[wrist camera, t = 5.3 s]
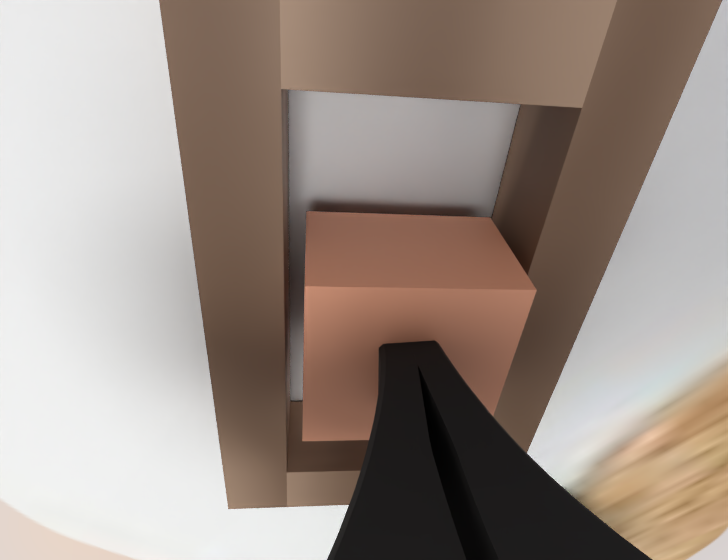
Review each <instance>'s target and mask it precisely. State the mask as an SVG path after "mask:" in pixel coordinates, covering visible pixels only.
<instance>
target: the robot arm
mask: <svg viewBox="0 0 728 560" xmlns="http://www.w3.org/2000/svg"><path fill="white" fill-rule="evenodd" d="M327 560H652V559H651V558H649V557H648V556H647V555H645V554H644V553H643V552H641V551H640V550H639V549H637V548H636V547H635V546H633V545H632V544H631V543H629V542H628V541H627V540H625V539H624V538H623V537H621V536H620V535H619V534H618V533H616V532H615V531H614V530H613V529H611V528H610V527H609V526H608V525H607V524H605V523H604V522H603V521H602V520H600V519H599V518H598V517H597V516H596V515H594V514H593V513H592V512H591V511H589V510H588V509H587V508H586V507H585V506H583V505H582V504H581V503H580V502H578V501H577V500H576V499H575V498H574V497H573V496H571V495H570V494H569V493H568V492H567V491H566V490H565V489H564V488H563V487H562V486H560V485H559V484H558V483H557V482H556V481H555V480H554V479H553V478H552V477H550V476H549V475H548V474H547V473H546V472H545V471H544V470H543V469H542V468H541V467H540V466H539V465H538V464H537V463H536V462H535V461H534V460H533V459H532V458H531V457H530V456H529V455H528V454H527V453H526V452H525V451H524V450H523V449H522V448H521V447H520V446H519V445H518V444H517V443H516V442H515V440H514V439H513V438H512V437H511V436H510V435H509V434H508V433H507V432H506V431H505V429H504V428H503V427H502V426H501V425H500V424H499V423H498V422H497V420H496V419H495V418H494V417H493V416H492V415H491V413H490V412H489V411H488V410H487V408H486V407H485V406H484V405H483V404H482V402H481V401H480V400H479V399H478V397H477V396H476V395H475V394H474V392H473V391H472V390H471V389H470V387H469V386H468V385H467V383H466V382H465V381H464V379H463V378H462V377H461V375H460V374H459V372H458V371H457V370H456V368H455V367H454V365H453V364H452V363H451V361H450V360H449V358H448V357H447V355H446V354H445V352H444V351H443V349H442V348H441V346H440V344H439V343H438V342H436V341H435V340H433V341H418V342H403V343H387V344H383V345H381V346H380V347H379V366H378V398H377V405H376V411H375V416H374V421H373V425H372V430H371V434H370V438H369V442H368V446H367V450H366V454H365V457H364V461H363V464H362V468H361V471H360V474H359V477H358V480H357V484H356V487H355V490H354V493H353V495H352V498H351V501H350V504H349V506H348V509H347V512H346V515H345V518H344V520H343V523H342V525H341V528H340V531H339V533H338V536H337V538H336V540H335V543H334V545H333V547H332V550H331V552H330V554H329V557H328V559H327Z"/></svg>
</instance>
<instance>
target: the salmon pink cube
mask: <svg viewBox="0 0 728 560" xmlns="http://www.w3.org/2000/svg"><path fill="white" fill-rule="evenodd" d="M536 291H537V290H536V288H535V286H534V285H533V283H532V282H531V280H530V279H529V277H528V276H527V274H526V272H525V271H524V269H523V268H522V266H521V265H520V263H519V262H518V260H517V258H516V257H515V255H514V254H513V252H512V251H511V249H510V247H509V246H508V244H507V243H506V241H505V240H504V238H503V237H502V235H501V233H500V232H499V230H498V229H497V227H496V226H495V224H494V222H493V221H492V219H491V218H490V217H464V216H434V215H405V214H376V213H347V212H318V211H306V250H305V290H304V359H303V427H302V441H344V440H369V438H370V434H371V430H372V425H373V421H374V416H375V411H376V405H377V398H378V366H379V347H380V346H381V345H383V344H387V343H403V342H418V341H433V340H435V341H436V342H438V343H439V344H440V346H441V348H442V349H443V351H444V352H445V354H446V355H447V357H448V358H449V360H450V361H451V363H452V364H453V365H454V367H455V368H456V370H457V371H458V372H459V374H460V375H461V377H462V378H463V379H464V381H465V382H466V383H467V385H468V386H469V387H470V389H471V390H472V391H473V392H474V394H475V395H476V396H477V397H478V399H479V400H480V401H481V402H482V404H483V405H484V406H485V407H486V408H487V410H488V411H489V412H490V413H491V415H492V416H493V415H494V412H495V409H496V407H497V404H498V401H499V398H500V395H501V392H502V389H503V386H504V383H505V381H506V378H507V375H508V372H509V369H510V366H511V363H512V360H513V357H514V355H515V352H516V349H517V346H518V343H519V340H520V337H521V334H522V331H523V329H524V326H525V323H526V320H527V317H528V314H529V311H530V308H531V305H532V303H533V300H534V297H535V294H536Z"/></svg>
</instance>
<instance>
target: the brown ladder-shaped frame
mask: <svg viewBox="0 0 728 560" xmlns="http://www.w3.org/2000/svg"><path fill="white" fill-rule="evenodd" d="M721 2H722V0H159V3H160V10H161V17H162V25H163V32H164V39H165V47H166V54H167V61H168V69H169V76H170V83H171V91H172V98H173V105H174V113H175V120H176V127H177V135H178V142H179V149H180V157H181V164H182V171H183V179H184V186H185V193H186V201H187V208H188V215H189V223H190V230H191V237H192V245H193V252H194V259H195V267H196V274H197V281H198V289H199V296H200V303H201V311H202V318H203V325H204V333H205V340H206V347H207V355H208V362H209V369H210V377H211V384H212V391H213V399H214V406H215V413H216V421H217V428H218V435H219V443H220V450H221V457H222V465H223V472H224V479H225V487H226V494H227V501H228V509H241V508H270V507H298V506H326V505H349V504H350V501H351V498H352V495H353V493H354V490H355V487H356V484H357V480H358V477H359V474H360V471H361V468H362V464H363V461H364V457H365V454H366V450H367V446H368V442H369V440H344V441H302V427H303V401H294V402H290V286H289V138H288V90H304V91H320V92H336V93H352V94H368V95H384V96H400V97H416V98H432V99H448V100H464V101H480V102H496V103H512V104H521V106H520V110H519V114H518V118H517V121H516V125H515V129H514V133H513V137H512V141H511V145H510V149H509V153H508V157H507V161H506V164H505V168H504V172H503V176H502V180H501V184H500V188H499V192H498V196H497V200H496V204H495V208H494V211H493V215H492V221H493V222H494V224H495V226H496V227H497V229H498V230H499V232H500V233H501V235H502V237H503V238H504V240H505V241H506V243H507V244H508V246H509V247H510V249H511V251H512V252H513V254H514V255H515V257H516V258H517V260H518V262H519V263H520V265H521V266H522V268H523V269H524V271H525V272H526V274H527V276H528V277H529V279H530V280H531V282H532V283H533V285H534V286H535V288H536V290H537V291H536V294H535V297H534V300H533V303H532V305H531V308H530V311H529V314H528V317H527V320H526V323H525V326H524V329H523V331H522V334H521V337H520V340H519V343H518V346H517V349H516V352H515V355H514V357H513V360H512V363H511V366H510V369H509V372H508V375H507V378H506V381H505V383H504V386H503V389H502V392H501V395H500V398H499V401H498V404H497V407H496V409H495V412H494V415H493V417H494V418H495V419H496V420H497V422H498V423H499V424H500V425H501V426H502V427H503V428H504V429H505V431H506V432H507V433H508V434H509V435H510V436H511V437H512V438H513V439H514V440H515V442H516V443H517V444H518V445H519V446H520V447H521V448H522V449H523V450H524V451H525V452H526V453H527V451H528V449H529V446H530V444H531V442H532V439H533V437H534V435H535V433H536V430H537V428H538V426H539V423H540V421H541V419H542V416H543V414H544V412H545V409H546V407H547V405H548V402H549V400H550V398H551V395H552V393H553V391H554V389H555V386H556V384H557V382H558V379H559V377H560V375H561V372H562V370H563V368H564V365H565V363H566V361H567V358H568V356H569V354H570V351H571V349H572V347H573V345H574V342H575V340H576V338H577V335H578V333H579V331H580V328H581V326H582V324H583V321H584V319H585V317H586V314H587V312H588V310H589V307H590V305H591V303H592V301H593V298H594V296H595V294H596V291H597V289H598V287H599V284H600V282H601V280H602V277H603V275H604V273H605V270H606V268H607V266H608V263H609V261H610V259H611V257H612V254H613V252H614V250H615V247H616V245H617V243H618V240H619V238H620V236H621V233H622V231H623V229H624V226H625V224H626V222H627V219H628V217H629V215H630V213H631V210H632V208H633V206H634V203H635V201H636V199H637V196H638V194H639V192H640V189H641V187H642V185H643V182H644V180H645V178H646V175H647V173H648V171H649V169H650V166H651V164H652V162H653V159H654V157H655V155H656V152H657V150H658V148H659V145H660V143H661V141H662V138H663V136H664V134H665V131H666V129H667V127H668V125H669V122H670V120H671V118H672V115H673V113H674V111H675V108H676V106H677V104H678V101H679V99H680V97H681V94H682V92H683V90H684V88H685V85H686V83H687V81H688V78H689V76H690V74H691V71H692V69H693V67H694V64H695V62H696V60H697V57H698V55H699V53H700V50H701V48H702V46H703V44H704V41H705V39H706V37H707V34H708V32H709V30H710V27H711V25H712V23H713V20H714V18H715V16H716V13H717V11H718V9H719V6H720V4H721Z"/></svg>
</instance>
